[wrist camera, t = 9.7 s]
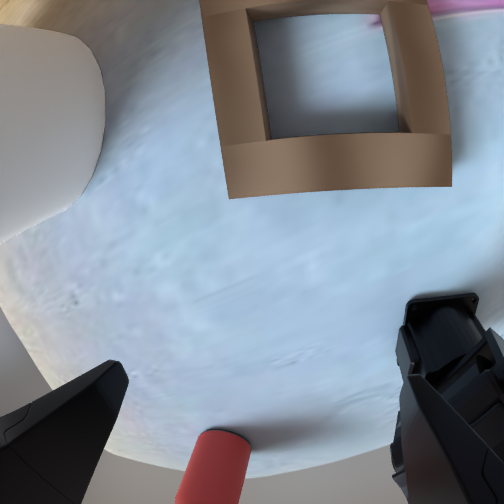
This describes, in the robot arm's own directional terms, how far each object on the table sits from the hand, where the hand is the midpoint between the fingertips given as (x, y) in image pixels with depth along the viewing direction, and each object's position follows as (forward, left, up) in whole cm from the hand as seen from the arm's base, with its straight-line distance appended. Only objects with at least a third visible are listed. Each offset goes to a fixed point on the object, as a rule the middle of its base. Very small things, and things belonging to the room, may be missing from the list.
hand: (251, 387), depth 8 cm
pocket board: (-4, -16, -13) cm, 21 cm away
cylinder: (+20, -12, -13) cm, 27 cm away
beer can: (+9, +26, -13) cm, 30 cm away
